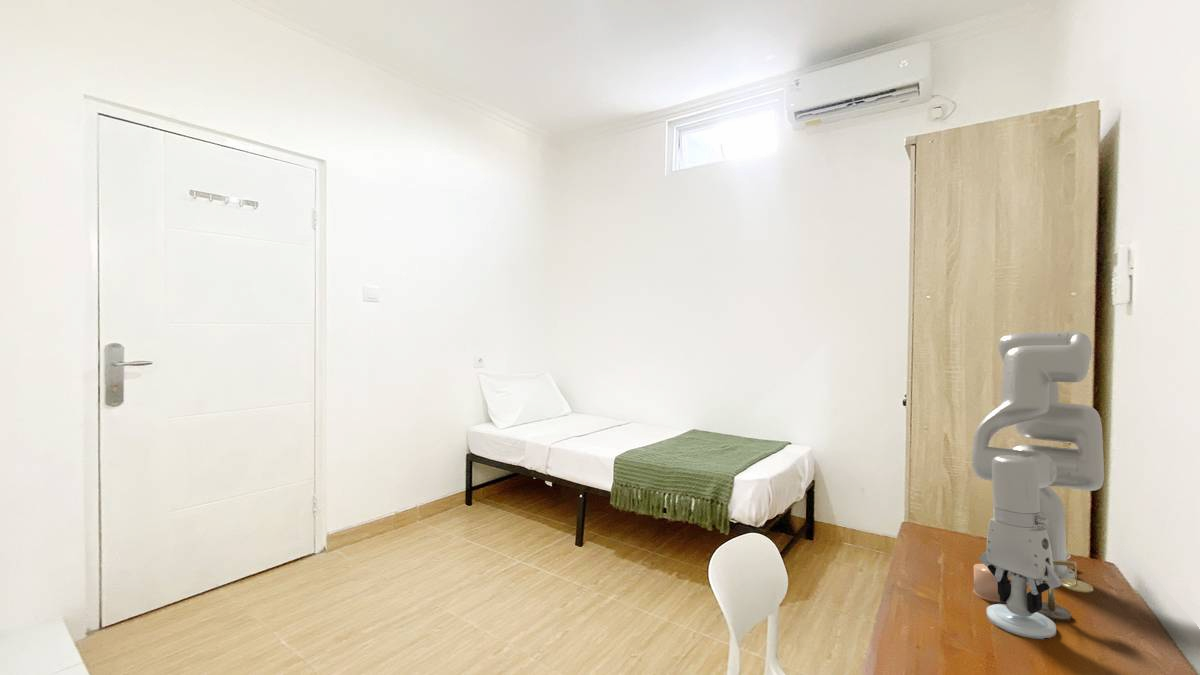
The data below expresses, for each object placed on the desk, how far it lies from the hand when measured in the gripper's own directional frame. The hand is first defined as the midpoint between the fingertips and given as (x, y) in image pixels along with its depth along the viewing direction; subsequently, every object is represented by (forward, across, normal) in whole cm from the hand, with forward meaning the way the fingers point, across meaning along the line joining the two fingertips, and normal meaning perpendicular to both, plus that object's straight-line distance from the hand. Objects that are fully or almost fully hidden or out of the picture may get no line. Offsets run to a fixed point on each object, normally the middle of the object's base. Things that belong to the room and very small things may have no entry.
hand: (1019, 604), depth 104 cm
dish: (+4, 0, 0) cm, 4 cm away
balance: (+4, -1, -10) cm, 11 cm away
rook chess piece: (+2, 0, 0) cm, 2 cm away
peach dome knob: (+4, +9, -8) cm, 13 cm away
